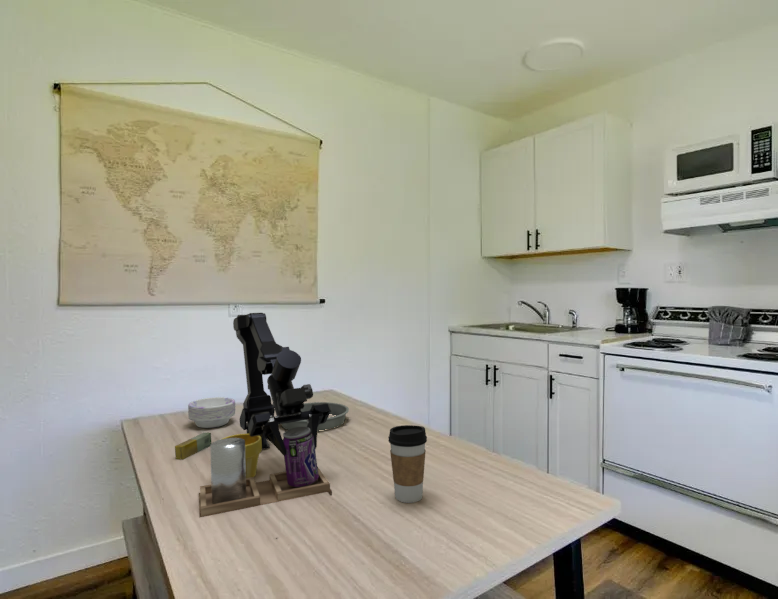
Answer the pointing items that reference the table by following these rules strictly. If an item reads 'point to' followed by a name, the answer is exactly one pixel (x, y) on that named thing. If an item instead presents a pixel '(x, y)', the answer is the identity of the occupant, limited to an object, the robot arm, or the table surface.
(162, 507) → the table surface
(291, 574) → the table surface
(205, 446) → the medication box
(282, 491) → the wooden tray
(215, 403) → the paper bowls
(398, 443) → the coffee cup
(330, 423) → the cake pan
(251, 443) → the plant pot
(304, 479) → the beverage can
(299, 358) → the robot arm
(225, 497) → the seated billet
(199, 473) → the table surface
